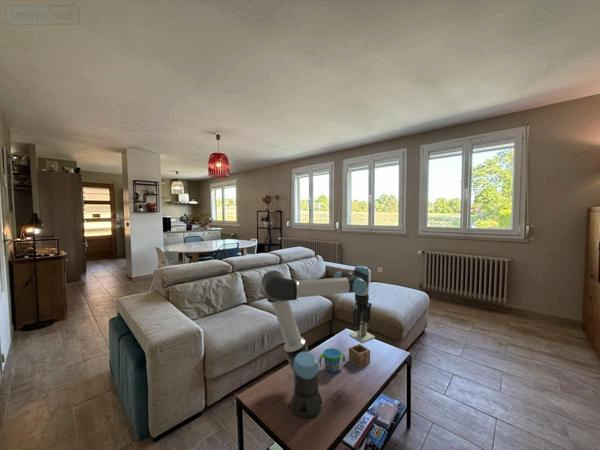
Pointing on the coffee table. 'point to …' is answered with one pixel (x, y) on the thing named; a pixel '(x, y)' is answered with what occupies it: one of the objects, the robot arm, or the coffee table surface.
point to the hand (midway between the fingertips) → (361, 334)
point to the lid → (362, 335)
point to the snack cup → (332, 359)
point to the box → (359, 355)
